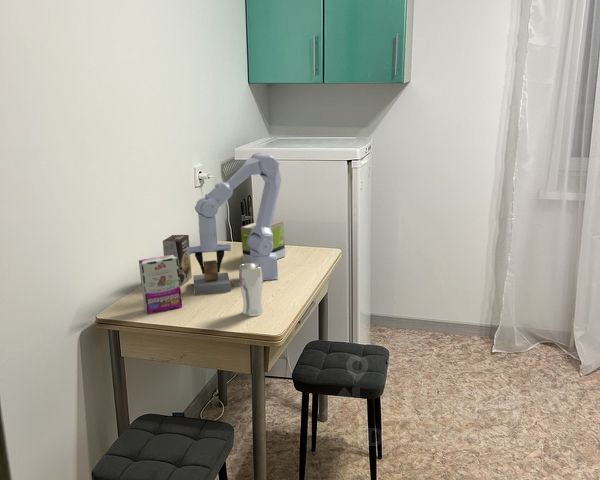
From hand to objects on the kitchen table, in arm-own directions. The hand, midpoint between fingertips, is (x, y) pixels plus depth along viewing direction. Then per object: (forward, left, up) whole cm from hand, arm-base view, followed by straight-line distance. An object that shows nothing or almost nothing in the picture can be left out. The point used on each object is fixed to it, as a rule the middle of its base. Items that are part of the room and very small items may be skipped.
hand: (210, 272), depth 201 cm
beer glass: (-11, +27, -6) cm, 30 cm away
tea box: (-22, -28, -6) cm, 36 cm away
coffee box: (+11, -10, -6) cm, 16 cm away
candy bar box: (+16, +16, -6) cm, 23 cm away
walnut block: (0, 0, -2) cm, 2 cm away
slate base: (0, 0, -5) cm, 5 cm away
